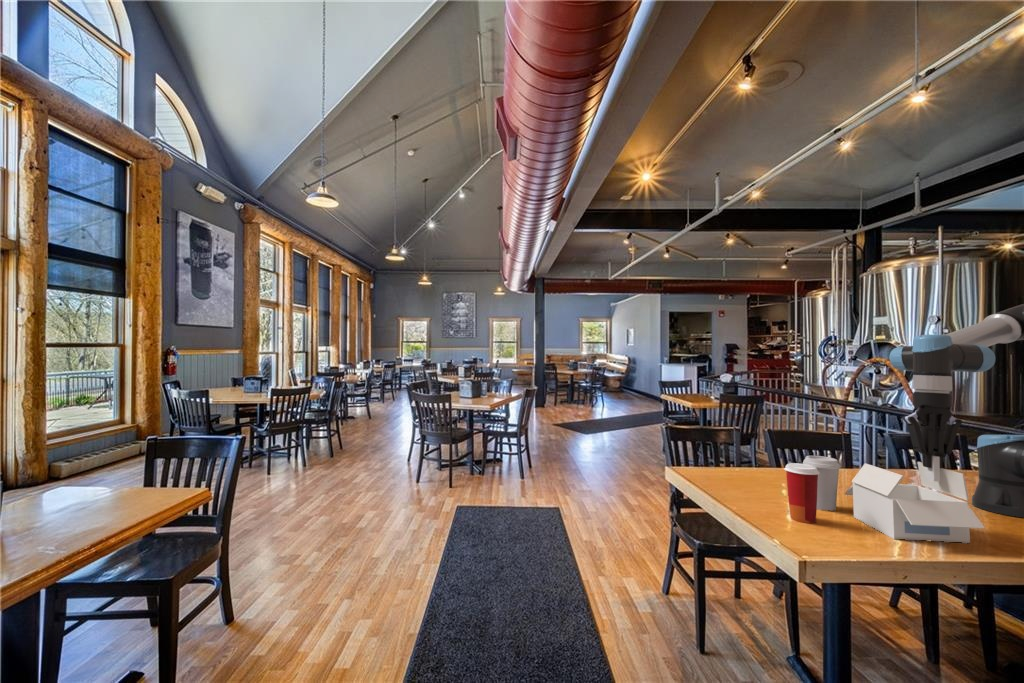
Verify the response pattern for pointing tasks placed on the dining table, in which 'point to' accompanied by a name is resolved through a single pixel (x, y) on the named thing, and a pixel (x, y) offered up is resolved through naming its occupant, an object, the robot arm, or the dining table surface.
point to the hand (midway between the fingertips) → (932, 480)
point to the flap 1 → (877, 479)
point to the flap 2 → (946, 482)
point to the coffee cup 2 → (825, 480)
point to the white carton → (914, 513)
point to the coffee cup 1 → (802, 491)
